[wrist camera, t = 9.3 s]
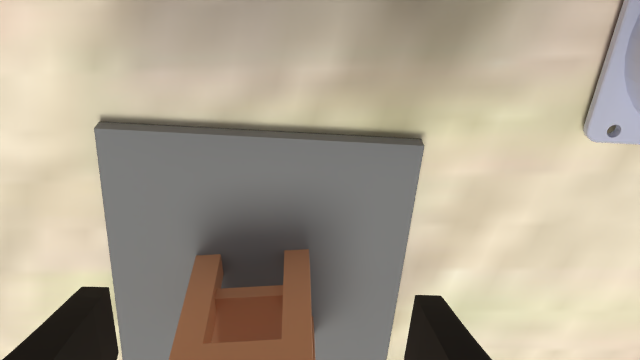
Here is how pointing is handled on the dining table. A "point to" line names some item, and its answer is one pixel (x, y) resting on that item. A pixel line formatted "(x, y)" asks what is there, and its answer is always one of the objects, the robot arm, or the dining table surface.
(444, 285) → the dining table surface
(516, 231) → the dining table surface
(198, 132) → the rubber mat
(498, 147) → the dining table surface
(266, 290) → the notched tan cube
